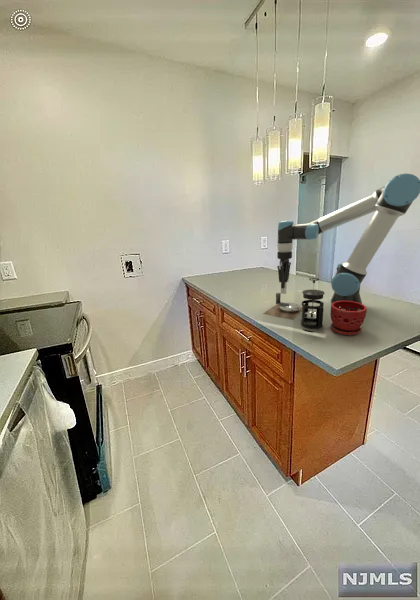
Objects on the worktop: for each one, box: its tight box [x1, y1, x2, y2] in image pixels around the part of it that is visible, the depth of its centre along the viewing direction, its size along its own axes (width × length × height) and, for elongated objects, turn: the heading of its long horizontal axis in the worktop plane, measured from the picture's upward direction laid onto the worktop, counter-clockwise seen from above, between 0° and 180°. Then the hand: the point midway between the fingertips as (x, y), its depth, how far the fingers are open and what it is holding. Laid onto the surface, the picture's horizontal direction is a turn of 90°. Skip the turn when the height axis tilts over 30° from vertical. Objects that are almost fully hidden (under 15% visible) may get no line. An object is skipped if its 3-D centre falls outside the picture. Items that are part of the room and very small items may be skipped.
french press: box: [300, 277, 326, 333], centre depth 109 cm, size 12×9×23 cm
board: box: [263, 303, 302, 321], centre depth 131 cm, size 16×19×2 cm
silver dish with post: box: [275, 292, 301, 313], centre depth 131 cm, size 13×10×8 cm
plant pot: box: [330, 301, 368, 336], centre depth 105 cm, size 13×13×12 cm
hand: (283, 293), depth 139 cm, fingers closed
